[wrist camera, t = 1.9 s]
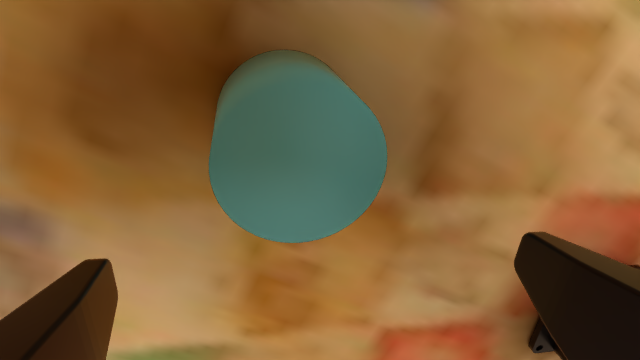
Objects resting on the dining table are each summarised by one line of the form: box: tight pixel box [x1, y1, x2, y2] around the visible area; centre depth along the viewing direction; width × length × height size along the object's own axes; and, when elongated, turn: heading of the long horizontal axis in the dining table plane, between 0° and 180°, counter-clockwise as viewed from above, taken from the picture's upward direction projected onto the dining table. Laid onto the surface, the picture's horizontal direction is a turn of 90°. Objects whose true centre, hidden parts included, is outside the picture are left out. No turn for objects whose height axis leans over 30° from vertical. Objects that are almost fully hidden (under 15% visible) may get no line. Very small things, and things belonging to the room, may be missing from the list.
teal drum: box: [209, 50, 387, 243], centre depth 15 cm, size 6×6×5 cm
